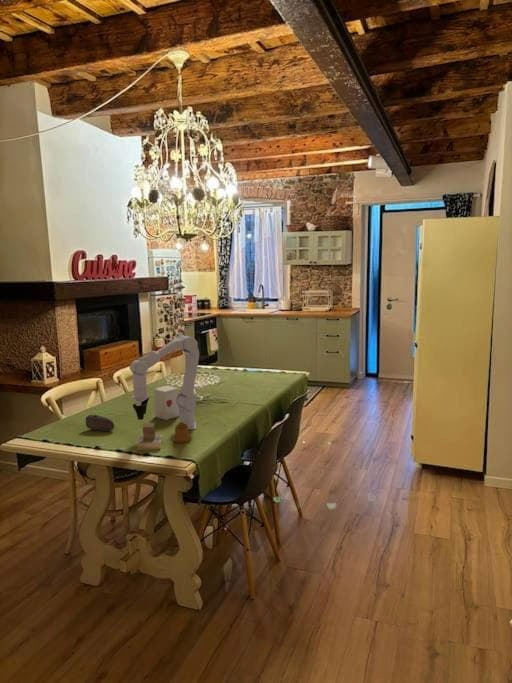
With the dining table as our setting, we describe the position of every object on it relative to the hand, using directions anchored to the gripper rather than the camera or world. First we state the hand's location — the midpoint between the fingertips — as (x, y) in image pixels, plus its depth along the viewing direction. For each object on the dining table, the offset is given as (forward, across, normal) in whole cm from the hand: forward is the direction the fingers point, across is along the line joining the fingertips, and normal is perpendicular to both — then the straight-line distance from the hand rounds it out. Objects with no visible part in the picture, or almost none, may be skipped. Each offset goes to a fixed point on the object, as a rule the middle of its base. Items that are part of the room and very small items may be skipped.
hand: (142, 416), depth 218 cm
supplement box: (+11, -30, +8) cm, 33 cm away
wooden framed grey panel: (+10, +8, +4) cm, 14 cm away
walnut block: (+7, +8, +4) cm, 12 cm away
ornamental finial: (+11, +5, +18) cm, 21 cm away
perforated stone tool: (+11, -15, -22) cm, 29 cm away
